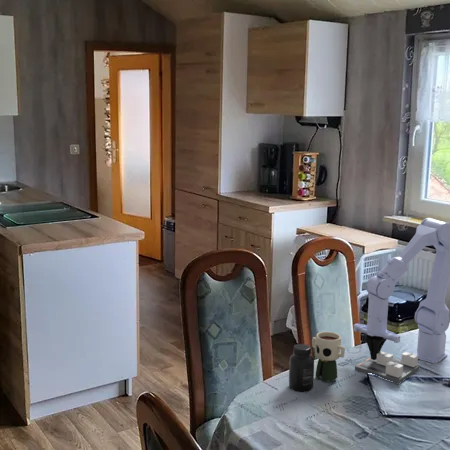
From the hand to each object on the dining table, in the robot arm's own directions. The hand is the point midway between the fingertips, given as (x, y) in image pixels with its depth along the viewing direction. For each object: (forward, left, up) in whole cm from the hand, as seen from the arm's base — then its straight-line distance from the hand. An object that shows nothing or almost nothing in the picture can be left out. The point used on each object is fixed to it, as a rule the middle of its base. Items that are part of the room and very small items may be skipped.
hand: (374, 358), depth 187 cm
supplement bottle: (+28, -8, -2) cm, 29 cm away
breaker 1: (+5, +9, -1) cm, 10 cm away
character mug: (+18, -6, -2) cm, 19 cm away
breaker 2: (-5, +9, -1) cm, 10 cm away
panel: (0, +4, -2) cm, 5 cm away
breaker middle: (0, +3, -1) cm, 3 cm away
